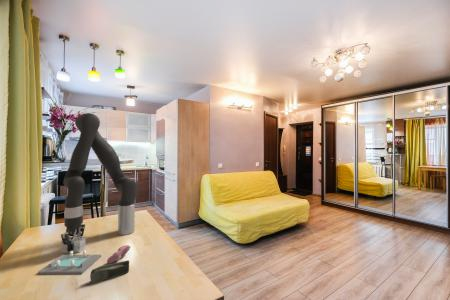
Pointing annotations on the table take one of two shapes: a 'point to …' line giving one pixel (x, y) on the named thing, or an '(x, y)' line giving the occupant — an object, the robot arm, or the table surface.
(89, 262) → the docking tray
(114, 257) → the pink oblong lump
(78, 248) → the block
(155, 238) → the table surface
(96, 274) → the mobile phone
